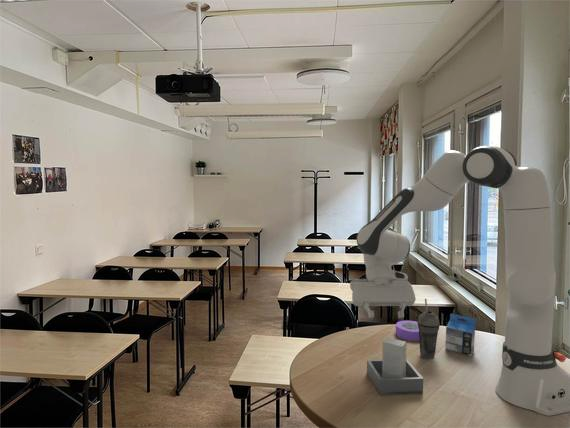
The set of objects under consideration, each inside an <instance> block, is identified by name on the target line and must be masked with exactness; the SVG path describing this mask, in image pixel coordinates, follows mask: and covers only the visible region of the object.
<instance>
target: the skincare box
mask: <svg viewBox="0 0 570 428" xmlns="http://www.w3.org/2000/svg"><path fill="white" fill-rule="evenodd" d="M406 359H407V340H400V339H395V338H390V337H386V338H385V339H384V340H383V341H382V359H381V360H382V379H388V378H406Z"/></svg>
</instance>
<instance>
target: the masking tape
mask: <svg viewBox="0 0 570 428" xmlns="http://www.w3.org/2000/svg"><path fill="white" fill-rule="evenodd" d="M417 322H418V321H414V320H400V321H397V322H396V324H395V335H396V336H397V337H399V338H400V339H403V340H405V341H410V342H411V341H414V342H417V341H419V329H418V323H417Z"/></svg>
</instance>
